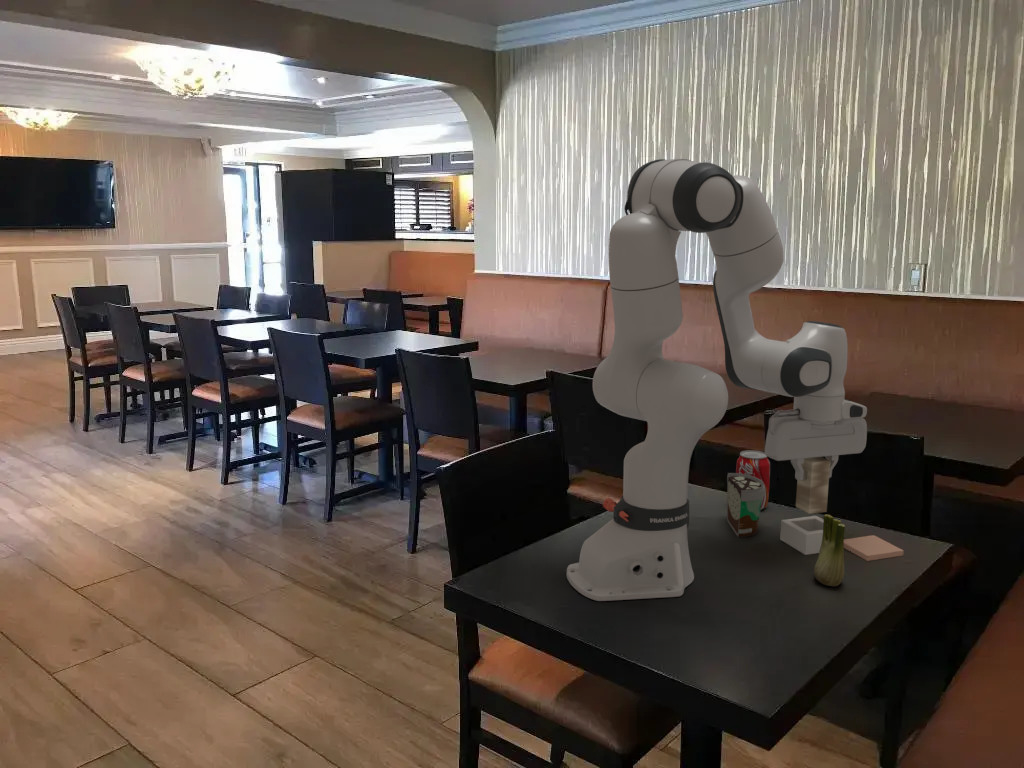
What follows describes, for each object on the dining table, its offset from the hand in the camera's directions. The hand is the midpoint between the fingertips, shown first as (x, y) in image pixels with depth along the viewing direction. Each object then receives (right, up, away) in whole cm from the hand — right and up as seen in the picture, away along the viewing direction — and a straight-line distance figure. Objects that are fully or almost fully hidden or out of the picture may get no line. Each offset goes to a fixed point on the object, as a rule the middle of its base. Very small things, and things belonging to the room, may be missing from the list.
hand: (813, 478), depth 162 cm
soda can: (-5, -9, +24) cm, 26 cm away
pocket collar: (0, -13, +3) cm, 13 cm away
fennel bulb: (-2, -17, -14) cm, 22 cm away
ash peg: (0, -6, +1) cm, 6 cm away
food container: (-9, -12, +12) cm, 19 cm away
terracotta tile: (+11, -14, 0) cm, 17 cm away
